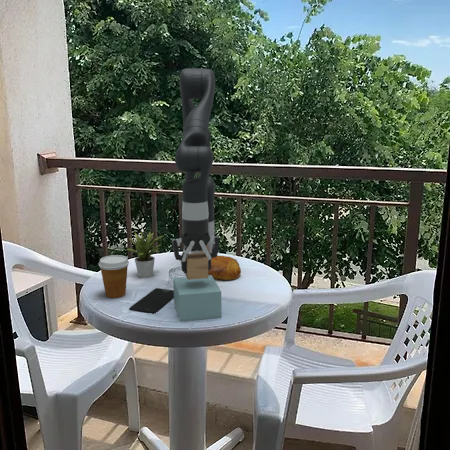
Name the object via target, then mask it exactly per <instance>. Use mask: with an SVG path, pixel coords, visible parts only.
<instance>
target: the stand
mask: <svg viewBox="0 0 450 450" xmlns="http://www.w3.org/2000/svg"><path fill="white" fill-rule="evenodd" d="M172 279H173V280H172V282H173V285H172V286H173V290H174V298H173V303H174V307H175V311H176V313H177V316H178V318H179V321H180V322H187V321H188V320H189V321H197V320H208V319H216V318H219V319H220V318H222V290H221V288H220V287H219V286H218V283H217V282H216V279H214V278H213V277H212V275H208V278H204V279H191V280H188V279H187V277H186V276H185V277H183V276H182V277H174V278H172Z"/></svg>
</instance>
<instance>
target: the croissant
mask: <svg viewBox="0 0 450 450" xmlns="http://www.w3.org/2000/svg"><path fill="white" fill-rule="evenodd" d="M241 274H242V269H241V266H240V263H239V262H238V260H237V259H236V258H234V257H231V256H227V255H226V256H225V255H217V257H214V258H212V259H211V270H209V272H208V275H212V277H213V278H214V280H224V281H229V280H230V281H231V280H236V279H238V278H239V277H240V275H241Z"/></svg>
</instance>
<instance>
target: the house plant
mask: <svg viewBox="0 0 450 450" xmlns="http://www.w3.org/2000/svg"><path fill="white" fill-rule="evenodd" d="M154 234H155V232H151V231H149V233H148V235H147V237H146V238H145V237H144V235H143V232H142V231H140V236H139V235H138V234H137V233H136V232H134V236H135V239H134V240H133V239H132V238H130V237H129V238H128V239H129V241H131V242H132V243H133V245H134V246H135V248H134V249H133V248H127V249H126V251H132V252H134V253H136V254H137V257H135V258H134V263H135V267H136V271H137V276H138V277H139V278H141V279H142V278H144V279H145V278H150V277H153V274H154V267H155V266H154V265H155V257H154V256H152V255H153V254H154V253H155V252H156V253H158V254H160V251H159V250H160V249H161V248H159V247H160V246H162V244H159V245H155V243H157V242H160V241H162V240H163V239H162V238H163V237H164V236H165V235H160V236H158V237H156V238H154V239H153V235H154ZM152 239H153V240H152Z"/></svg>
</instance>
